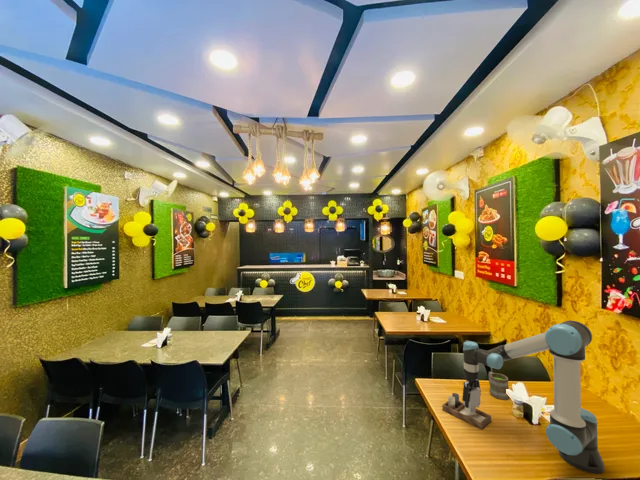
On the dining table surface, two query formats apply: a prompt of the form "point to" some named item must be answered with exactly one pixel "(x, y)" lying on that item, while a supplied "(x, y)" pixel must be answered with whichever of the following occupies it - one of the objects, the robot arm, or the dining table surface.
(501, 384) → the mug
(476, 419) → the caddy
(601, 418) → the dining table surface
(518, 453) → the dining table surface
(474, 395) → the charger
